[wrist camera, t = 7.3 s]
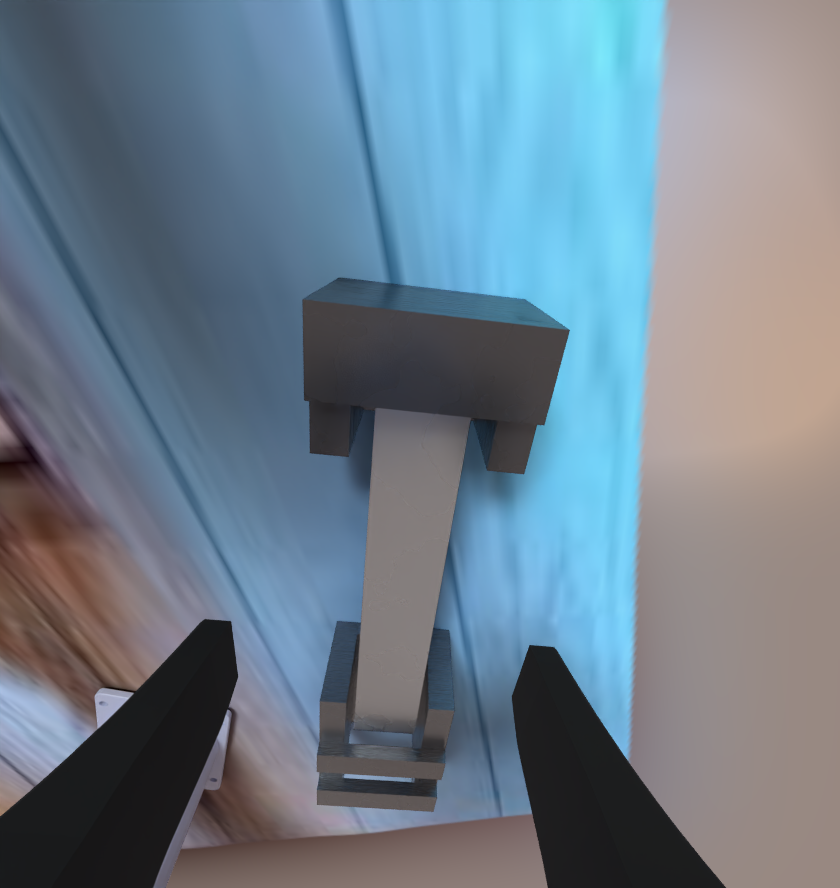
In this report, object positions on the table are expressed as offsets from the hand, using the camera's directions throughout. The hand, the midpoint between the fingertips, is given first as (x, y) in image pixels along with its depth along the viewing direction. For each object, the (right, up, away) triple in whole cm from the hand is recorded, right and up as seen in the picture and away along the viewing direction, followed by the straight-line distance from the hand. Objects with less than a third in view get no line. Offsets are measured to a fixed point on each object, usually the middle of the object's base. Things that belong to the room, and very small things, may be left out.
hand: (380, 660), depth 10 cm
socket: (+1, +9, +6) cm, 11 cm away
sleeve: (-1, -8, +15) cm, 17 cm away
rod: (0, +1, +9) cm, 9 cm away
